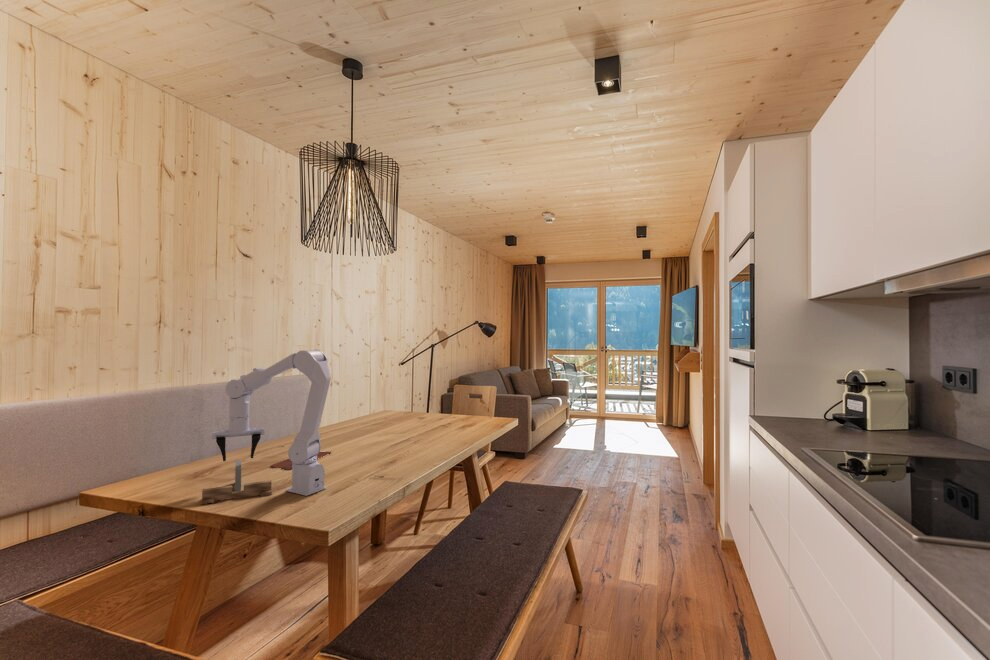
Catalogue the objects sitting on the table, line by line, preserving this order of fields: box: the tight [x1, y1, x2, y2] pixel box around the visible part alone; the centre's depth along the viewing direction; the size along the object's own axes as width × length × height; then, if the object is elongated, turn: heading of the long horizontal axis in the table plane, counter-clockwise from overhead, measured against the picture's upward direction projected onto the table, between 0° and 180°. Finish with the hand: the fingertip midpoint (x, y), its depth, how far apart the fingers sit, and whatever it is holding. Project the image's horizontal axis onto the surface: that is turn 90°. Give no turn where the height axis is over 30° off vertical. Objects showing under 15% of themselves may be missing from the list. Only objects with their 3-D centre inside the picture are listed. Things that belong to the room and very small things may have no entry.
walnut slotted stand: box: [201, 479, 273, 505], centre depth 136 cm, size 18×5×4 cm, turn 119°
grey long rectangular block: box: [234, 460, 242, 492], centre depth 145 cm, size 10×2×7 cm, turn 29°
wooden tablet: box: [269, 451, 332, 471], centre depth 177 cm, size 27×10×2 cm, turn 163°
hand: (238, 459), depth 145 cm, fingers open, 7 cm apart
